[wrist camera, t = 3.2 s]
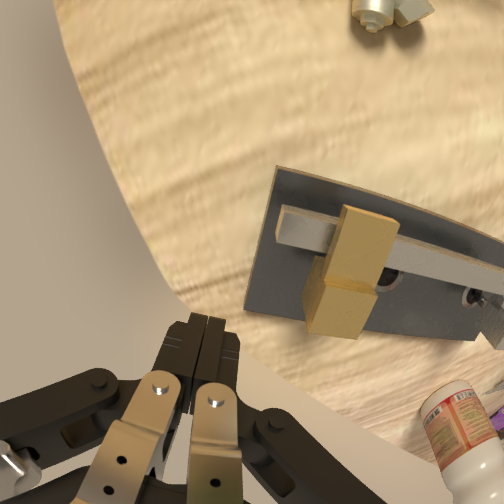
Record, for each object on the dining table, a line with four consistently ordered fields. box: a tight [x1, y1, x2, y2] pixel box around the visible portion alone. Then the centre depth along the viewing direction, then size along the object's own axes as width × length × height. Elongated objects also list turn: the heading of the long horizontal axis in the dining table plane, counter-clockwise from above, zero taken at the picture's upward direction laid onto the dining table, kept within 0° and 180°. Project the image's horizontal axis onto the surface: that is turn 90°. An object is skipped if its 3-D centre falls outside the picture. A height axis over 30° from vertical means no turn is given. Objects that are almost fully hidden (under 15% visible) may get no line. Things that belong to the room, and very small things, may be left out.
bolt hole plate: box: [243, 165, 504, 341], centre depth 24 cm, size 28×12×2 cm, turn 78°
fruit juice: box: [420, 380, 504, 504], centre depth 21 cm, size 9×9×28 cm
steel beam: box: [275, 204, 504, 350], centre depth 19 cm, size 24×6×7 cm, turn 78°
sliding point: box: [301, 204, 400, 340], centre depth 18 cm, size 3×7×7 cm, turn 168°
